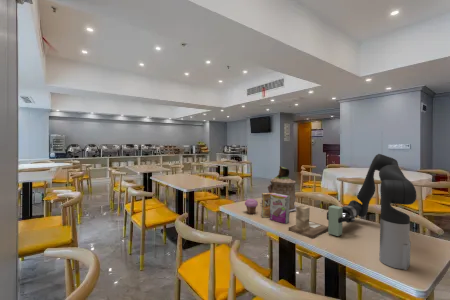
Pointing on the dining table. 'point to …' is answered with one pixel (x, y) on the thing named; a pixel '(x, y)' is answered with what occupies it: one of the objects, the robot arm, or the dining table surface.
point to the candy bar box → (279, 208)
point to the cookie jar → (284, 186)
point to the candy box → (266, 204)
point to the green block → (335, 220)
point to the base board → (311, 231)
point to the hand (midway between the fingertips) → (333, 219)
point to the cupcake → (251, 205)
